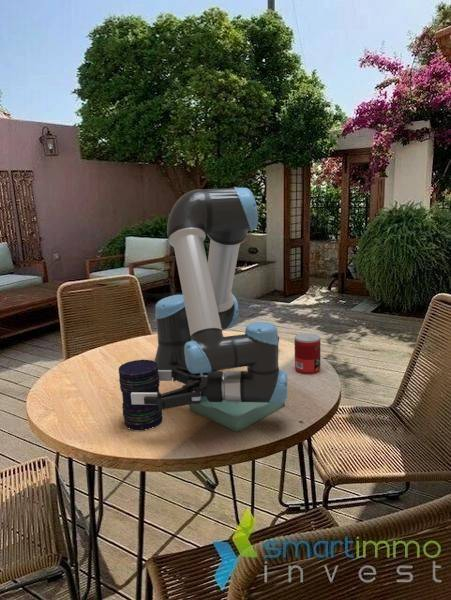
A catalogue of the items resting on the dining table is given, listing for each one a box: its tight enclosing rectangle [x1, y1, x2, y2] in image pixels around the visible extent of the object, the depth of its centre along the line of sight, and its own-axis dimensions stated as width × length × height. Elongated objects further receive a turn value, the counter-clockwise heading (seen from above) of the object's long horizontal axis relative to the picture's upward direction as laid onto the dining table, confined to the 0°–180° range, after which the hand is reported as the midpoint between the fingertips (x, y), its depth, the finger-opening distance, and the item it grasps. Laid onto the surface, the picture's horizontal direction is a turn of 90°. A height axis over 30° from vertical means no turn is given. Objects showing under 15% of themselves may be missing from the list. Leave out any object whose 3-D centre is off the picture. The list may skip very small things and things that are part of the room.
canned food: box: [294, 332, 321, 375], centre depth 144 cm, size 8×8×11 cm
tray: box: [188, 396, 286, 433], centre depth 123 cm, size 18×18×3 cm
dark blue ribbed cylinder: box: [118, 359, 163, 431], centre depth 116 cm, size 10×10×15 cm
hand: (139, 386), depth 115 cm, fingers open, 13 cm apart
